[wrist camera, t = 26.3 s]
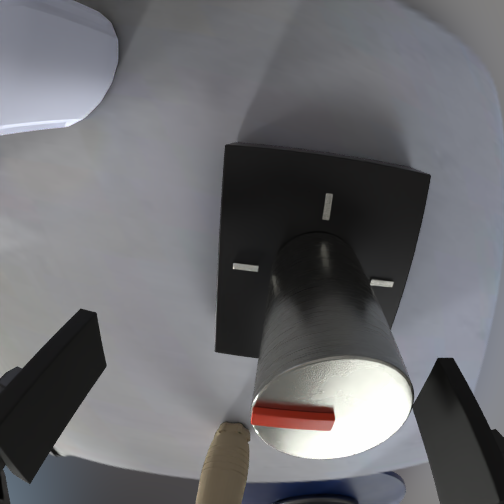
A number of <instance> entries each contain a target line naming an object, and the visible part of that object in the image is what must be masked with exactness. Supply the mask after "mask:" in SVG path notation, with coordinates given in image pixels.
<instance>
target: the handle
mask: <svg viewBox="0 0 504 504" xmlns="http://www.w3.org/2000/svg"><path fill="white" fill-rule="evenodd" d="M248 441H250V432H249V430H248V429H246V428H244V427H243V425H242V424H240V423H228V422H225V423H222V424H221V425H220V427H219V429H218V430H217V432H216V434H215V436H214V439H213V441H212V443H211V445H210V448H209V450H208V453H207V456H206V458H205V462H204V465H203V469H202V472H201V477H200V482H199V487H198V493H197V498H196V504H241V502H242V498H243V494H244V490H245V486H246V481H247V474H248V467H249V444H248Z"/></svg>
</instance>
